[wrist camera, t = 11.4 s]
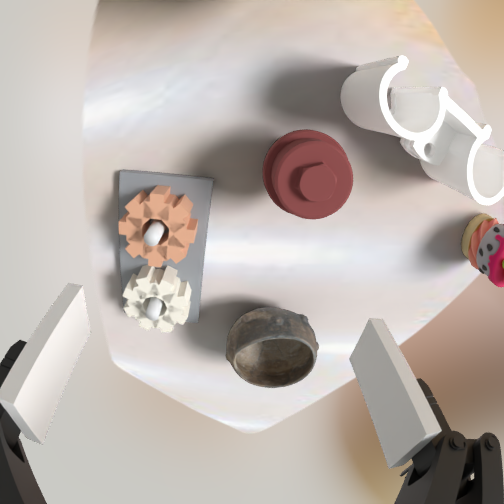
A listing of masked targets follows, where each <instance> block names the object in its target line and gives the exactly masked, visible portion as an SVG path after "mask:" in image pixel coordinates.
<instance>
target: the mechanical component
mask: <svg viewBox="0 0 504 504" xmlns="http://www.w3.org/2000/svg"><path fill="white" fill-rule="evenodd" d="M263 181H264V185H265V187H266V190H267V192H268V194H269V196H270V198H271V199H272V200H273V202H274V203H275V204H276V205H277V206H279V207H280V208H281V209H283V210H284V211H286V212H288V213H291V214H294V215H296V216H298V217H301V218H305V219H320V218H324V217H327V216H329V215H331V214H333V213H334V212H336V211H337V210H339V209H340V208H341V207H342V206H343V205H344V203H345V202H346V200H347V199H348V197H349V195H350V193H351V189H352V185H353V172H352V168H351V165H350V163H349V161H348V158H347V156H346V153H345V152H344V150H343V148H342V147H341V146H340V145H339V143H338V142H336V141H335V140H334V139H333V138H331V137H330V136H328V135H326V134H324V133H321V132H318V131H314V130H297V131H293V132H290V133H288V134H286V135H284V136H282V137H281V138H279V139H278V140H277V141H276V142H275V143H274V144H273V145H272V146H271V148H270V149H269V151H268V153H267V154H266V157H265V160H264V164H263Z"/></svg>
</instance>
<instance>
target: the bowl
mask: <svg viewBox="0 0 504 504" xmlns="http://www.w3.org/2000/svg"><path fill="white" fill-rule="evenodd" d="M318 349H319V345H318V343H317V342H316V338H315V334H314V331H313V329H312V328H311V326H310V325H309V323H308V318H307V317H306V316H304V315H303V314H296V313H294V312H291V311H288V310H285V309H280V308H276V307H265V308H258V309H254V310H252V311H251V312H249V313H245V314H244V315H243V316H241V317H240V318H239V319H238V320H237V321H236V322H235V323H234V325H233V326H232V328H231V330H230V332H229V334H228V338H227V344H226V359H227V360H228V361H229V362H230V363H231V365H232V367H233V368H234V370H235V371H236V373H237V374H238V375H239V376H240V377H241V378H242V379H244V380H245V381H247V382H248V383H251V384H253V385H256V386H261V387H268V388H277V387H285V386H289V385H292V384H294V383H297V382H299V381H301V380H302V379H304V378H305V377H306V376H307V375H308V374H309V373H310V372H311V371H312V369H313V367H314V365H315V362H316V357H317V350H318Z"/></svg>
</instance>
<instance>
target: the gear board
mask: <svg viewBox="0 0 504 504" xmlns="http://www.w3.org/2000/svg"><path fill="white" fill-rule="evenodd" d="M213 180H214V178H206V177H198V176H189V175H179V174H169V173H159V172H148V171H136V170H122V171H120V178H119V221H120V219H121V218H122V217H123V216H124V215H125V214H126V213H127V212H128V210H127V209H126V208H125V206H126V205H127V204H128V203H129V202H130V201H131V200H132V199H133V198H134V197H135V196H136V195H138V194H139V193H140V192H141V191H142V190H144V192H145V193H146V194H147V195H149V194H150V193H151V192H152V191H153V190H154V189H155V187H156V186H157V185H162V186H171V188H170V194H173V195H176V196H177V197H178V198H179V199H180V198H181V197H182V196H183V195H186V196H187V197H188V198H189V199H190V201H191V202H192V203H193V207H192V209H191V212H190V213H191V216H190V218H193V219H198V226H197V233H196V236H195V240H194V243H190V245H189V248H188V251H187V255H186V257H185V258H184V259H182V260H181V261H179V262H178V263H177V264H176V263H175V262H174V261H173V260H172V259H171V258H170V259H169V260H167V261H163V264H162V266H161V267H155V269H162V270H164V271H165V269H166V267H167V265H168V266H170V267H172V268H174V269H176V270H178V272H177V275H176V277H178V278H180V281H181V282H184V281H188V283H189V285H190V288H191V290H192V291H191V296H190V302H191V303H190V309H189V314H188V318H187V320H186V321H185V322H193V323H198V320H199V310H200V298H201V287H202V276H203V266H204V256H205V247H206V237H207V228H208V220H209V211H210V203H211V195H212V187H213ZM167 232H169V228H168V227H167V226H166V224H165V223H164V222H163V221H162V220H159V219H150V227H149V228H148V230H147V232H146V233H145V235H144V241H145V243H146V244H147V245H149V246H155V245H157V244H158V242H159V241H160V239H161V237H162V235H163V233H167ZM128 244H129V243H128V241H127V240H126V235H121V234H119V245H120V267H121V282H122V295H123V293H124V291H125V288H126V286H127V284H128V282H129V281H130V279H131V277H132V275H133V273H134V274H135V275H137V276H138V274H139V272H140V270H141V268H142V266H144V265H148V259H146V258H142V257H141V255H140V254H139V255H137V256H136V257H135V258H133V257H132V256H131V255H130V254H129V253H128V252H127V250H126V249H125V248H126V247H127V245H128ZM126 301H127V298H125V297H123V306H125V304H126ZM162 305H163V300H161V299H159V298H157V297H155V296H154V297H151V299H150V302H149V305H148V307H147V310H146V313H145V315H146V317H147V318H148V319H149V320H152V321H155V320H157V319H158V318H159V315H160V311H161V308H162ZM124 313H126V312H125V310H124Z"/></svg>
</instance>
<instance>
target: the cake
mask: <svg viewBox="0 0 504 504" xmlns="http://www.w3.org/2000/svg"><path fill="white" fill-rule="evenodd" d="M461 248H462V252H463V254H464V255H465V256H466V257H467V258H468V259H469V260H470V262H471V265H472V266H473V267H475V268H476V269H478V270H479V271H480V272H481V273H483V274H484V273H485V274H486V275H487V276H488V278H489V280H490V281H491V282H492V283H494V284H495V285H496V286H498V287H504V224H499V223H498V221H497V219H496V218H495V219H494V218H492V217H491V216H489V215H487V214H479V215H477V216H475V217H474V218H473V219H472V220H471V221H470V222H469V224H468V225H467V227H466V229H465V231H464V233H463V236H462V242H461Z"/></svg>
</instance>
